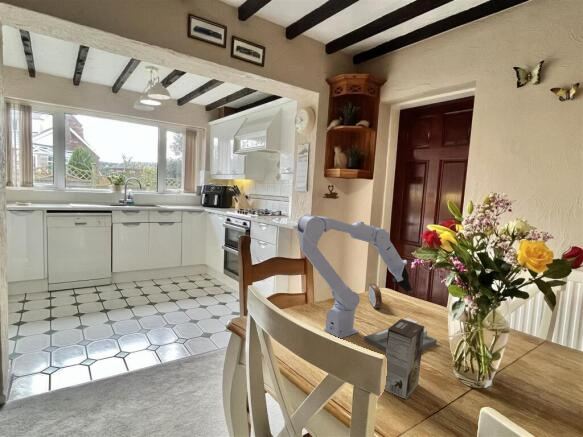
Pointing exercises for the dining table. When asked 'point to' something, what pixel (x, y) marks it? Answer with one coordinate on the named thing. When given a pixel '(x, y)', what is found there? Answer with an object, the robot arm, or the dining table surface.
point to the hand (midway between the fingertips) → (407, 284)
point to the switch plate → (381, 337)
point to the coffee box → (403, 357)
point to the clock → (375, 296)
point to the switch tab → (411, 320)
